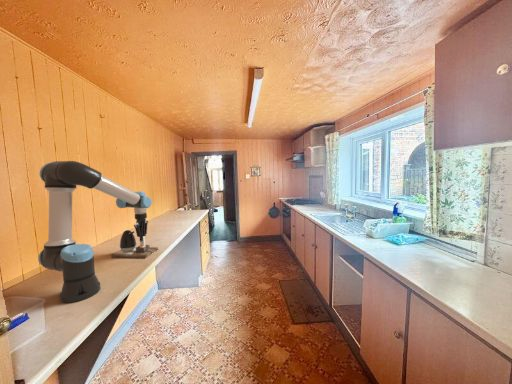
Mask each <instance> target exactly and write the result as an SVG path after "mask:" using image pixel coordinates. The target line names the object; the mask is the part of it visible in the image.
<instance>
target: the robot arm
mask: <svg viewBox="0 0 512 384" xmlns="http://www.w3.org/2000/svg"><path fill="white" fill-rule="evenodd" d="M39 177H40V179H41V180H42V181H43V182H44V189H45V190H46V191H47V192H48V239H47V241H46V242H45V243H43V248H42V250H41V251H40V252H39V254H38V263H39V265H41V266H42V267H43V268H45V269H47V270H50V271H56V272H61V273H62V278H63V279H62V280H63V283H62V288H61V291H60V294H59V301H60V302H61V303H64V304H70V303H77V302H80V301H83V300H87V299H88V298H91V297H94V296H95V295H96V294H98V293H99V292H100V290H101V283H100V281H99V279H98V277H97V275H96V272H95V268H96V267H95V257H94V255H95V253H94V249H93V246H92V245H91V244H87V243H76V241H77V240H76V239H74V238H72V237H73V236H72V235H73V230H72V229H73V192H74V191H75V190H77V186H80V187H84V188H87V189H89V190H91V189H95V190H97V191H98V192H102V193H104V194H106V195H109V196H111V197H113V198H116V200H115V204H116V207H117V208H119V209H126V208H133V211H134V212H133V213H134V219H135V220H136V221H135V224H134V225H133V227H134V228H135V233H136V238H137V237H138V238H139V243H140V244H139V246H140V245H142V246H144V245H146V236H147V234H148V223H149V220H147V217H148V215H147V209H149V208H150V207H151V206H152V203H153V201H152V199H151V197H150V196H146V192H145V191H142V190H141V191H133V190H131V189H129V188H127V187H126V186H123V185H121V184H120V183H117V182H116V181H113V180H112V179H110V178H108V177H106V176H104V175H103V174H102V172H100V171H99V170H96V169H94V167H93V168H92V167H90V166H88V165H86V164H84V163H83V162H79V161H75V160H63V161H62V160H59V161H58V160H57V161H51V162H48V163H45V164H44V165H42V167H41V168H40V170H39Z"/></svg>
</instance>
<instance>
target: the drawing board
mask: <svg viewBox="0 0 512 384" xmlns="http://www.w3.org/2000/svg"><path fill="white" fill-rule="evenodd" d="M145 245H146V247H144V248H140V245H139V246H136V247H135V249H134V250H132V251H129V252H124V251H122V250H121V249H120V250H118V251H115V252H114V253H112V254H111V255H110V256H111V259H145V258H146V259H147V258H149V257H150V256H152V255H153V254H155V253H156V252H158V251H159V247H158V246H155V247H154V246H153V247H152V246H151V245H150V244H145ZM157 250H158V251H157ZM155 251H156V252H155ZM154 252H155V253H154ZM152 253H153V254H152ZM151 254H152V255H151ZM148 256H149V257H148Z"/></svg>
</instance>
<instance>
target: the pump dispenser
mask: <svg viewBox="0 0 512 384" xmlns="http://www.w3.org/2000/svg"><path fill="white" fill-rule="evenodd" d="M134 233H135V231H131V230H130V229H126V230H124V231H123V232H122V234H121V237H120V240H119V241H120V242H119V248H120V250H122V251H124V252H129V251H132V250H134V249H135V247H137V241H136V238H135V237H136V236H135V235H134Z"/></svg>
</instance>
